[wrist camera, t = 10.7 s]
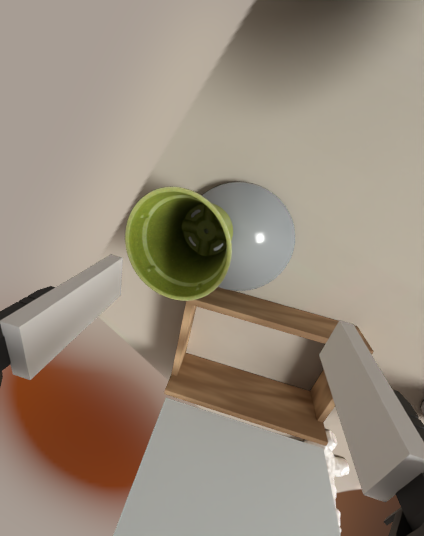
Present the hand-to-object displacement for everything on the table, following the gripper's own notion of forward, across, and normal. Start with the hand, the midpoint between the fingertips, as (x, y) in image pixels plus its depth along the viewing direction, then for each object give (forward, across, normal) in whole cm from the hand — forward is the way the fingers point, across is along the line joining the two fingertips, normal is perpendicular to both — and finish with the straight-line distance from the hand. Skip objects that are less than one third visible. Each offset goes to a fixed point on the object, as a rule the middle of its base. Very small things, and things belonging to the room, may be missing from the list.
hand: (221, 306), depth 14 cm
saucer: (+15, 0, 0) cm, 15 cm away
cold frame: (+15, +7, -14) cm, 22 cm away
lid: (+1, +7, -22) cm, 23 cm away
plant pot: (+14, -4, 0) cm, 14 cm away
